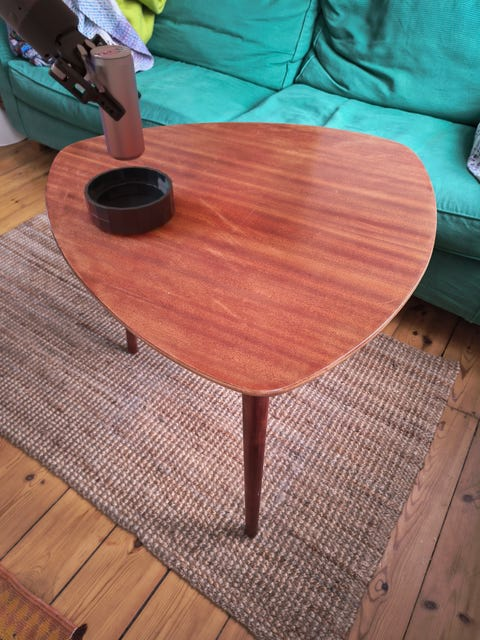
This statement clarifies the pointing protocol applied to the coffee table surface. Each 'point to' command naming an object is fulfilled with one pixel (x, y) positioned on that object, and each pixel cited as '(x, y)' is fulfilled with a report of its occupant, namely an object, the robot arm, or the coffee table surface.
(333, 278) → the coffee table surface
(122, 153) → the beverage can
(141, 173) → the dark round dish
